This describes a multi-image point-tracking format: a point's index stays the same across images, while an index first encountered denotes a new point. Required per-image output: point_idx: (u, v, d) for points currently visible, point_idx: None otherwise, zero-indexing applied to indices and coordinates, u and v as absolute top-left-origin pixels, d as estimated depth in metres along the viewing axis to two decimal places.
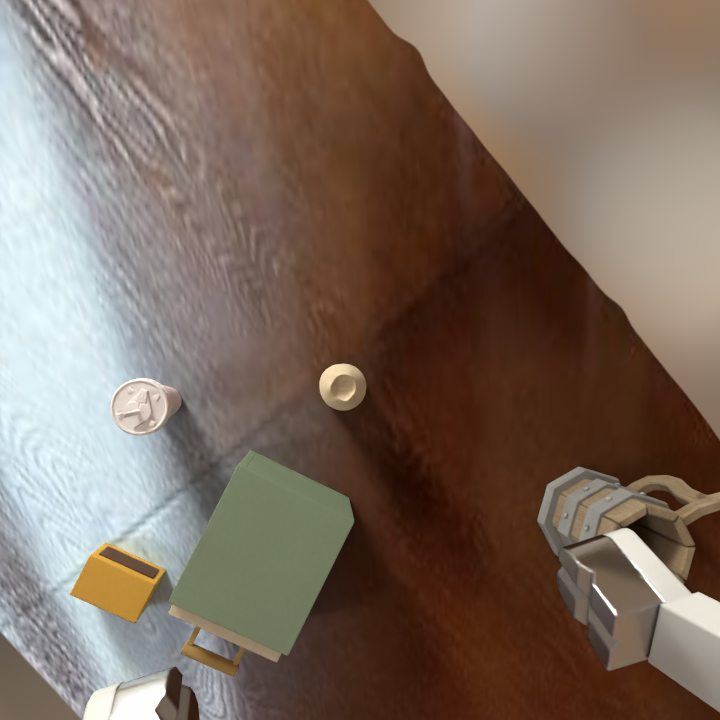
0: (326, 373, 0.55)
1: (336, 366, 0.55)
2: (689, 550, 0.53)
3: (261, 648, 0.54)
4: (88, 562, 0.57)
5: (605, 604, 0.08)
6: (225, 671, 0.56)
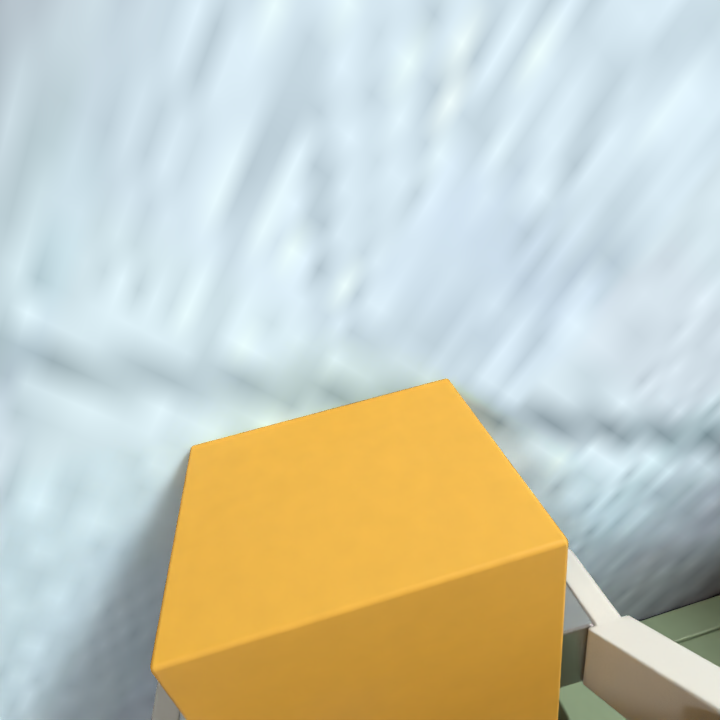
0: None
1: None
2: None
3: None
4: (506, 573, 0.06)
5: None
6: None
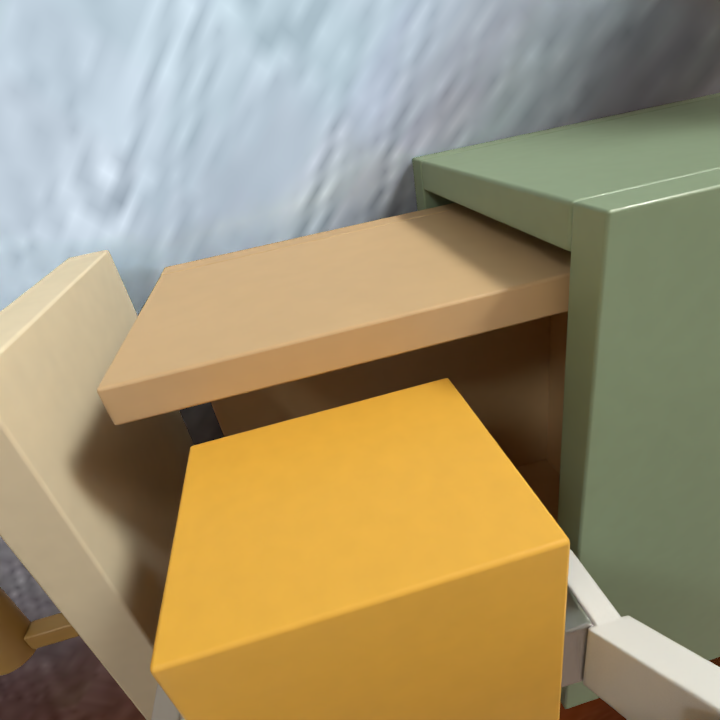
0: None
1: None
2: None
3: None
4: (508, 572, 0.06)
5: None
6: None
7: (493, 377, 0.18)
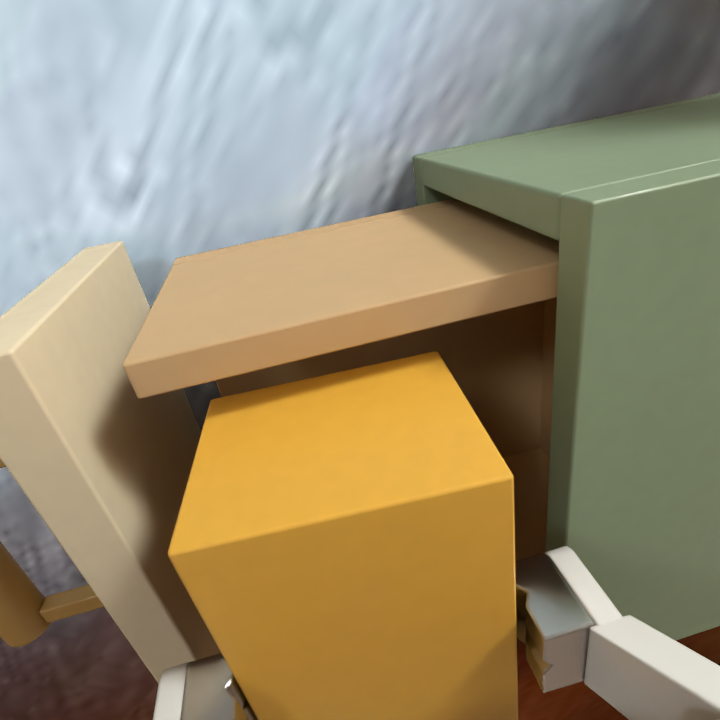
0: None
1: None
2: None
3: None
4: (460, 500, 0.07)
5: (536, 626, 0.08)
6: None
7: (489, 367, 0.18)
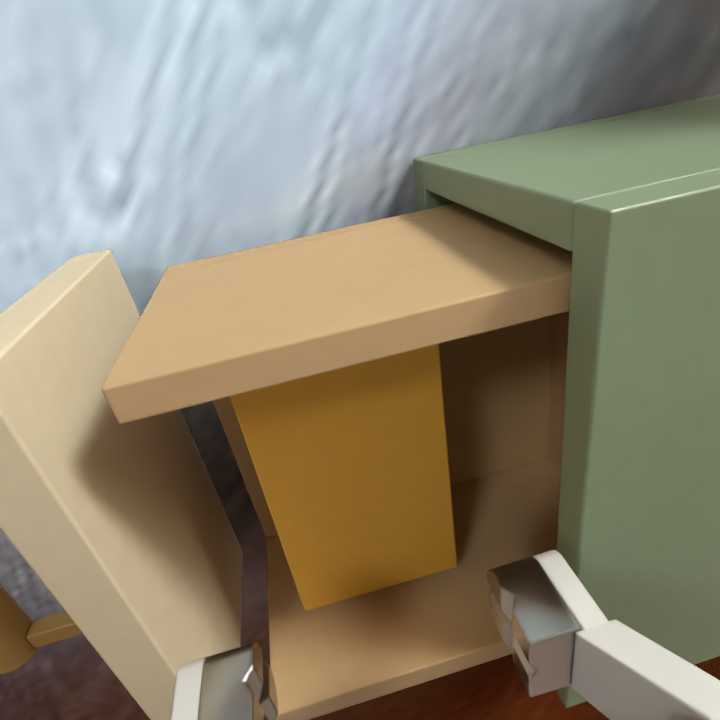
0: None
1: None
2: None
3: None
4: (407, 358, 0.12)
5: (521, 631, 0.08)
6: None
7: (494, 377, 0.18)
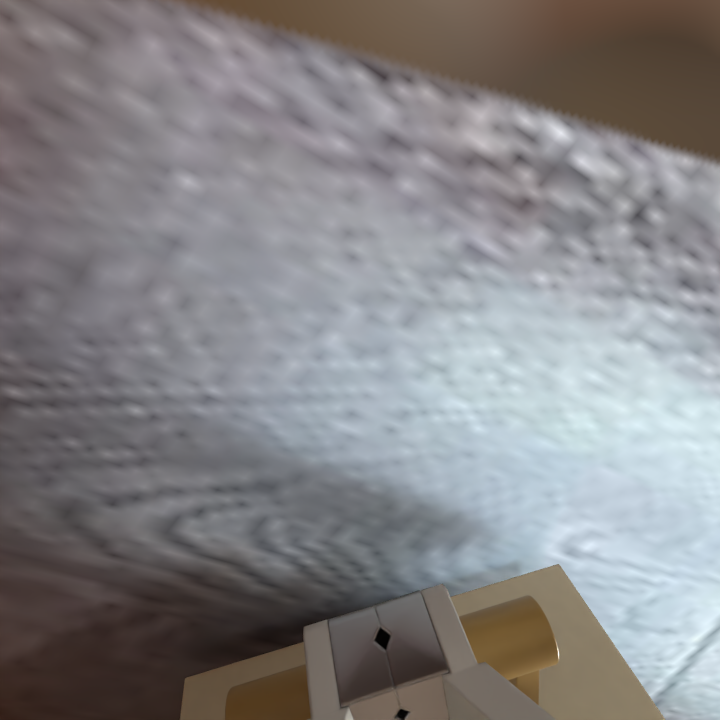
0: None
1: None
2: None
3: None
4: None
5: (391, 673, 0.08)
6: None
7: None
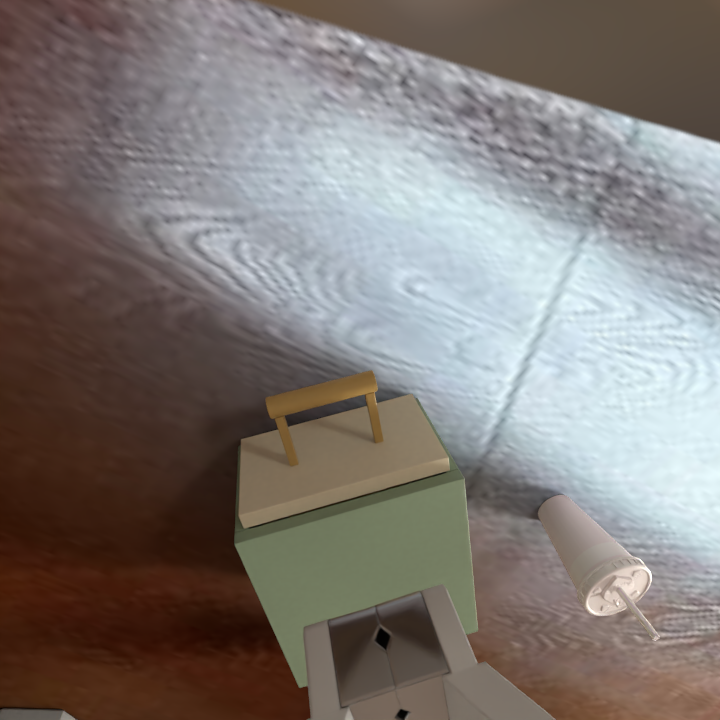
0: None
1: None
2: None
3: (278, 514, 0.29)
4: None
5: (391, 673, 0.08)
6: (287, 406, 0.29)
7: None
